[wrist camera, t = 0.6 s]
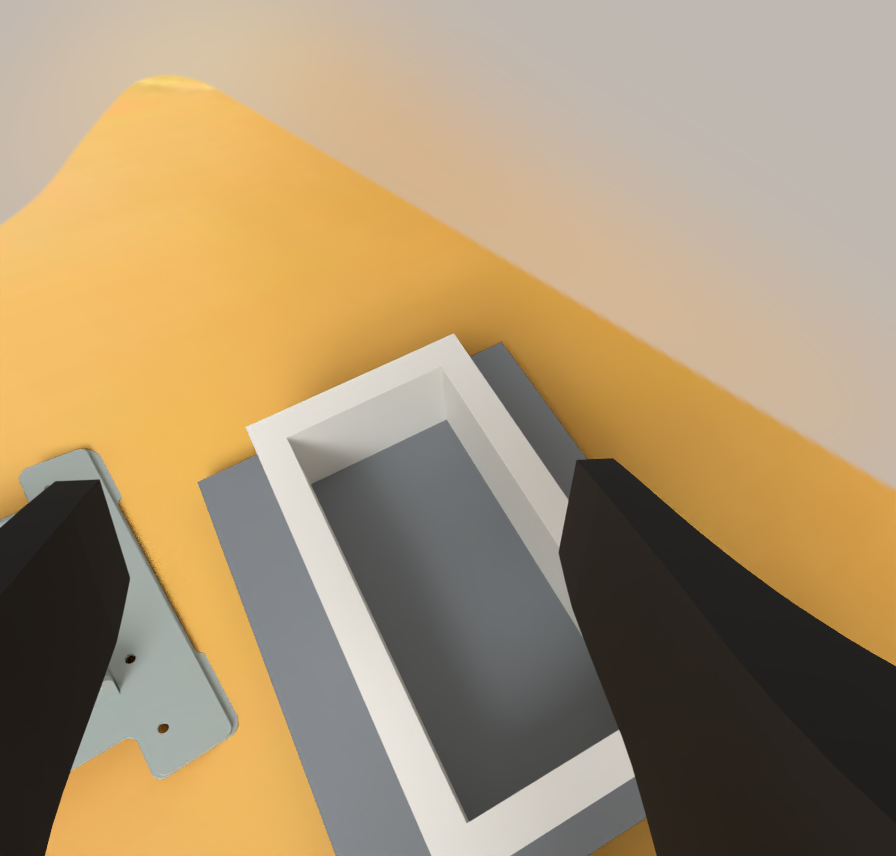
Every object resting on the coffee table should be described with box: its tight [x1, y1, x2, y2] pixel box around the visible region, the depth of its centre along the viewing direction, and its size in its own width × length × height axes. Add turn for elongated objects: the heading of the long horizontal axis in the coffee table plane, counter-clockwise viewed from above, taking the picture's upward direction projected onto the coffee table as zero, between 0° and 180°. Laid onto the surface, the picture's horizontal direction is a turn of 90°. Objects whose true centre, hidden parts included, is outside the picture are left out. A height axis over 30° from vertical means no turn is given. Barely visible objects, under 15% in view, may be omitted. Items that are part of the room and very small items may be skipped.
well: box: [198, 333, 646, 856], centre depth 25 cm, size 19×15×5 cm
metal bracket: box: [0, 449, 238, 779], centre depth 26 cm, size 14×6×15 cm
